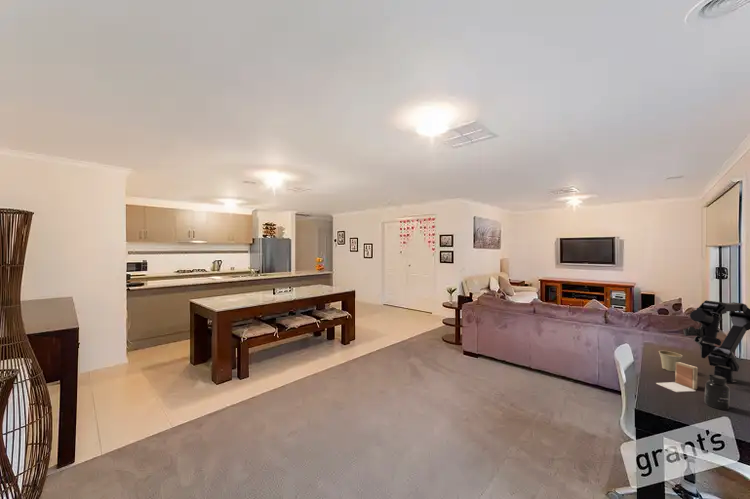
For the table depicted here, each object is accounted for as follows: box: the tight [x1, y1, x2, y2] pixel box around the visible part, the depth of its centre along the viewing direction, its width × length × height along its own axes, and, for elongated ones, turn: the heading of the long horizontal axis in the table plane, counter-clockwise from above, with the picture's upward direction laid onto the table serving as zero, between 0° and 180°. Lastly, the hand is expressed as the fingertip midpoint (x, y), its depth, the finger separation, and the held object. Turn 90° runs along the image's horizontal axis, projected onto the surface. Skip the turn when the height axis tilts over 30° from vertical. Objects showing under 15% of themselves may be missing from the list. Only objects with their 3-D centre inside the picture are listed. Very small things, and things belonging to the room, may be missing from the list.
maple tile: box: [674, 361, 699, 390], centre depth 147 cm, size 3×7×10 cm, turn 16°
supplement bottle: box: [704, 374, 731, 411], centre depth 128 cm, size 7×7×12 cm
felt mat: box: [655, 381, 697, 393], centre depth 145 cm, size 10×9×1 cm
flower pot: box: [658, 350, 684, 373], centre depth 168 cm, size 9×9×9 cm
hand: (703, 358), depth 150 cm, fingers closed
